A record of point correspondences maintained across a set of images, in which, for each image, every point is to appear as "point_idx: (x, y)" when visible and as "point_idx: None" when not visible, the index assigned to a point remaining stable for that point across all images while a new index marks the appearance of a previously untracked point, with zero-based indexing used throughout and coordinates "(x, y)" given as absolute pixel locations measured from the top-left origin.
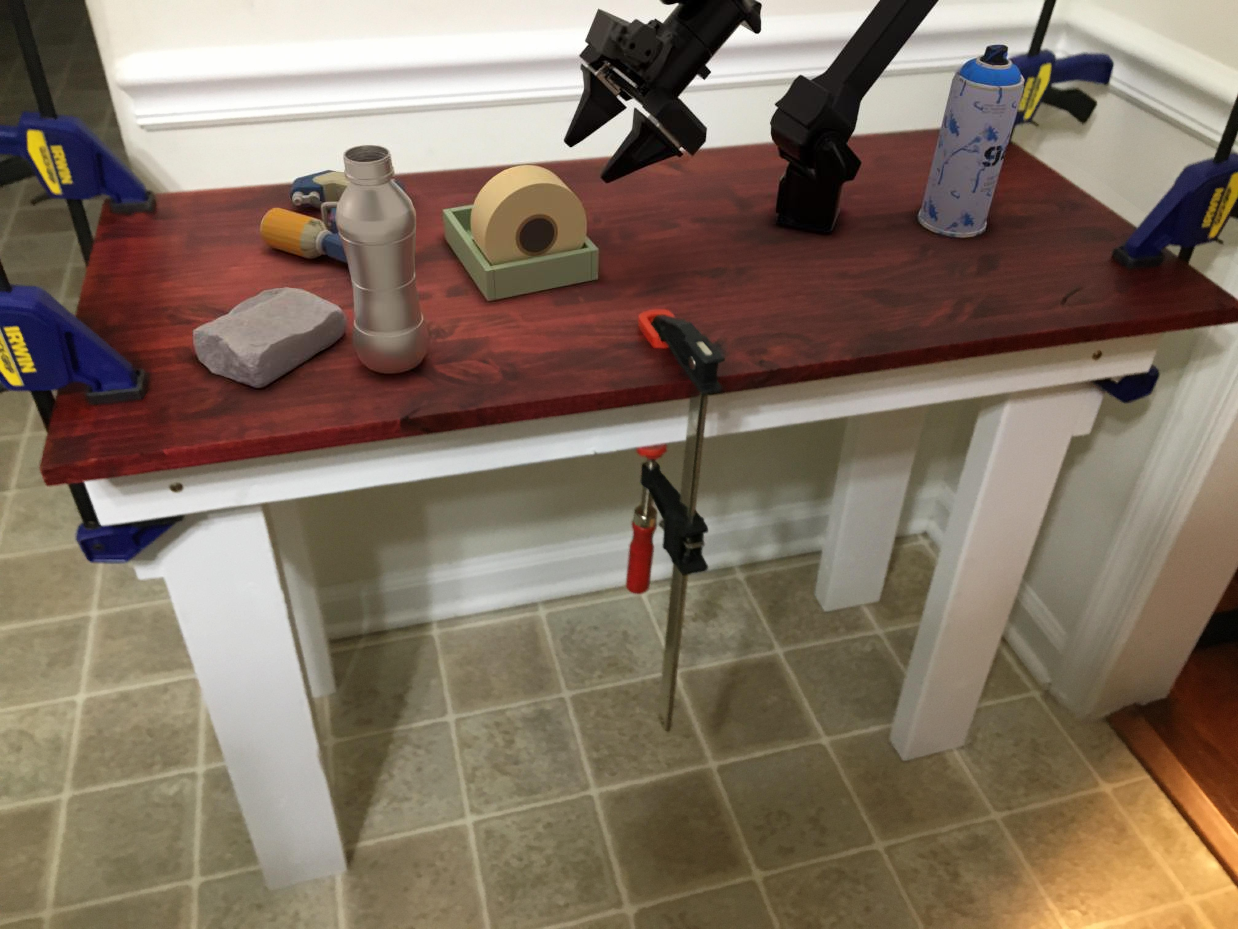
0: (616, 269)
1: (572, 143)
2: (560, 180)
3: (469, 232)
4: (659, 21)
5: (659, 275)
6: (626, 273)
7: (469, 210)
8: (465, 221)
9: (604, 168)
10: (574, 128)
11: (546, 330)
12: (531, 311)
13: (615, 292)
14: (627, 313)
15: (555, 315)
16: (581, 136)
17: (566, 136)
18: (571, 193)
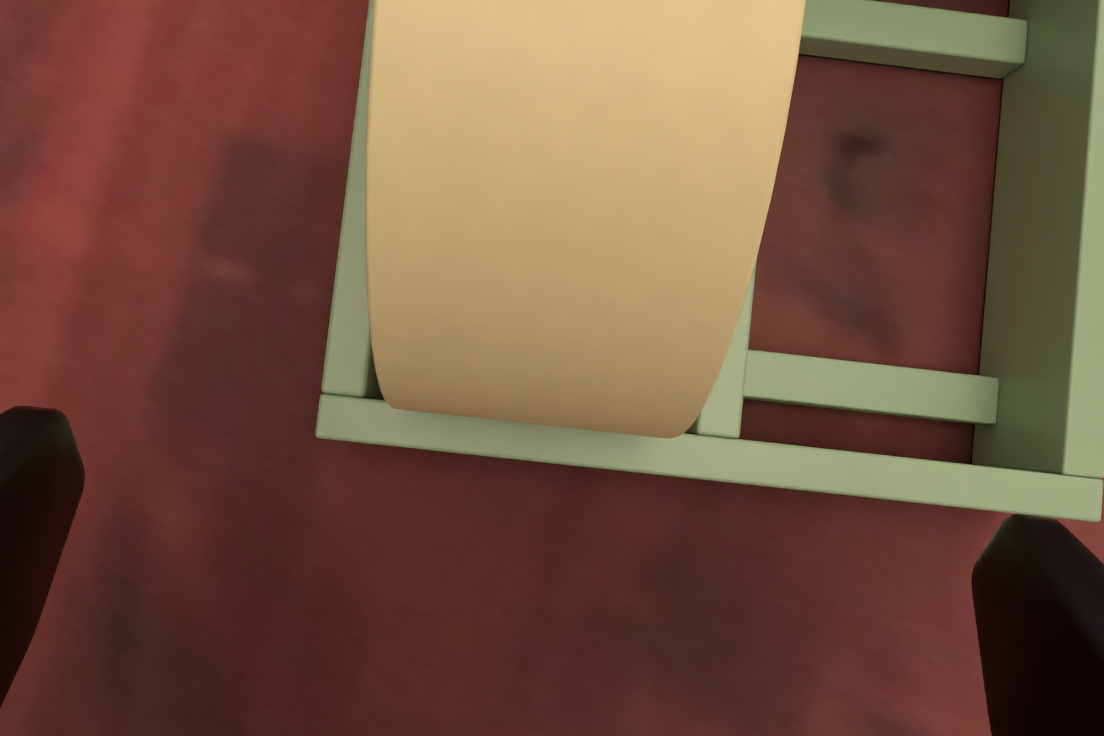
0: (392, 565)
1: (990, 597)
2: (598, 276)
3: (998, 48)
4: None
5: (236, 729)
6: (334, 590)
7: (1090, 24)
8: (1056, 23)
9: (2, 463)
10: (1088, 662)
11: (70, 3)
12: (246, 20)
13: (202, 446)
14: (8, 398)
15: (161, 98)
16: (1011, 721)
17: (1063, 551)
18: (368, 258)
